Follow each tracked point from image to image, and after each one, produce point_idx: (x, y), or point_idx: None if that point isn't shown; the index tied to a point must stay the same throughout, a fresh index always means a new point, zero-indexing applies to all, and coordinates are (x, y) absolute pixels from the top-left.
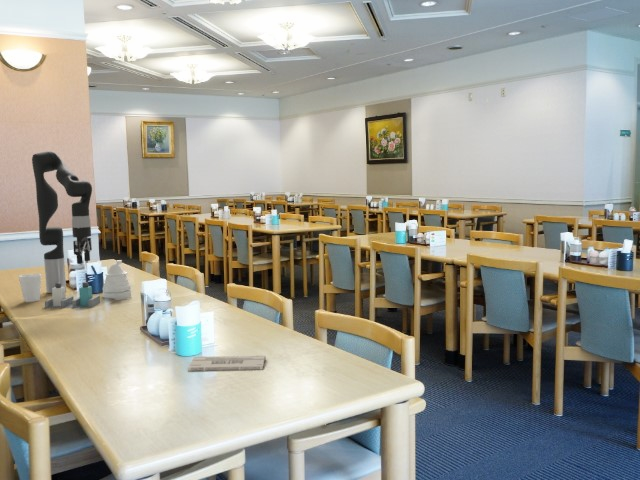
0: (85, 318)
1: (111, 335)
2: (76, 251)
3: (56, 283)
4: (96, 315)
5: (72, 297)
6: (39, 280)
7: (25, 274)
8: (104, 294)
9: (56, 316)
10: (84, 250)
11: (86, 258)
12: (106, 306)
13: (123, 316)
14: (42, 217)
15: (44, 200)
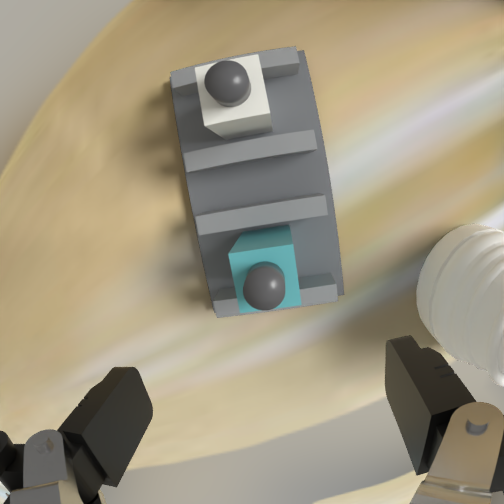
0: (90, 343)
1: (25, 435)
2: (28, 477)
3: (212, 75)
4: (132, 363)
5: (303, 151)
6: None
7: None
8: (442, 257)
9: (88, 218)
10: (432, 469)
11: (395, 380)
12: (284, 336)
13: (145, 437)
14: None
15: None
